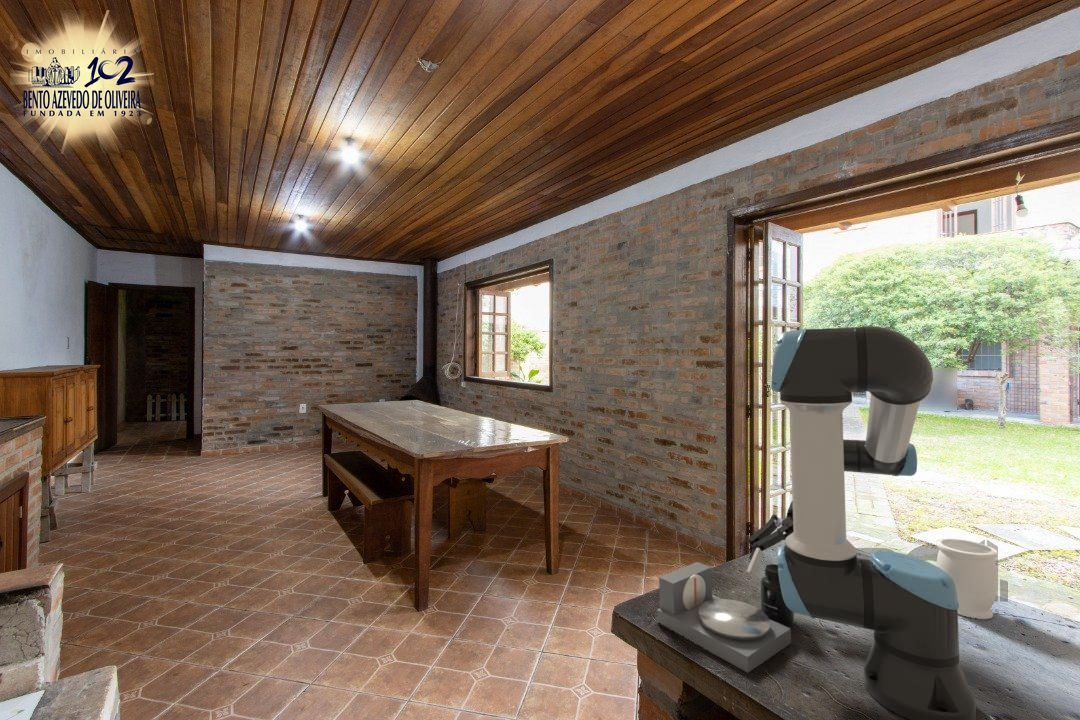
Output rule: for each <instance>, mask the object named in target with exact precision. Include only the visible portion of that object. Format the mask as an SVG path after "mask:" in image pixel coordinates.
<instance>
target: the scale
mask: <svg viewBox="0 0 1080 720" xmlns="http://www.w3.org/2000/svg"><path fill="white" fill-rule="evenodd" d="M712 573H713V571H712V566H709V565H707V564H704V563H701V562H699V561H696V562H693V563H691V564H689V565H686V566H683V567H681V568H679V569H676V570H674V571H671V572H668V573H667V574H664V575H661V576H659V577H658V578H659V580H658V586H659V587H658V588H659V589H658V590H659V607H658V608H657V609H656V617H657V619H656V621H658V622H659V623H661V624H663V625H664V626H666V627H668V628H670V629H672V630H674V631H675V632H677V633H678V634H680V635H682V636H684V637H685V638H684V637H683V638H684V639H686V638H687V639H686V640H688V639H689V640H690V641H689V640H688V641H689V642H691V641H692V642H691V643H693V642H694V643H693V644H695V645H697V646H698V645H699V647H700V646H701V648H702V647H703V648H702V649H704V650H706V651H707V650H708V652H709V653H711V654H713V655H715V656H717V657H719V658H721V659H722V660H724V661H726V662H727V663H730V664H731V665H732V666H735V667H737V668H738V669H740V670H742V671H744V672H745V673H747V674H748V673H750V672H751V671H753V670H754V669H757V667H758V666H760V665H761V664H764V662H766V661H767V660H769V659H770V658H772V657H773V656H775V655H776V654H777V653H779V652H780V651H782V650H784V649H785V648H786V647H787V646H789V645H790V644H792V631H791V628H792V627H791V628H788V627H786V626H784V625H781V624H779V623H777V622H774V621H772V620H770V619H769V621H770V631H769V633H768V634H767V635H765V636H764V637H761V638H758V639H752V640H740V639H733V638H729V637H725V636H722V635H719V634H717V633H715V632H713V631H711V630H709V629H708V628H706V627H705V626H704V625H703V624H702V623H701V621H700V619H699V607H700V606H701V605H702V604H703V603H704V602H707V601H710V600H715V599H723V598H721V597H719V596H717V595H715V594H713V575H712ZM659 623H658V624H659ZM664 626H663V627H664ZM666 627H665V628H666ZM668 628H667V629H668ZM675 632H674V633H675ZM677 633H676V634H677ZM678 634H677V635H678ZM680 635H679V636H680ZM682 636H681V637H682Z"/></svg>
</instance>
